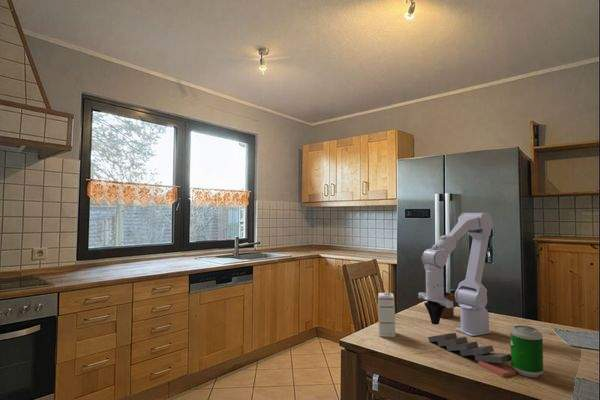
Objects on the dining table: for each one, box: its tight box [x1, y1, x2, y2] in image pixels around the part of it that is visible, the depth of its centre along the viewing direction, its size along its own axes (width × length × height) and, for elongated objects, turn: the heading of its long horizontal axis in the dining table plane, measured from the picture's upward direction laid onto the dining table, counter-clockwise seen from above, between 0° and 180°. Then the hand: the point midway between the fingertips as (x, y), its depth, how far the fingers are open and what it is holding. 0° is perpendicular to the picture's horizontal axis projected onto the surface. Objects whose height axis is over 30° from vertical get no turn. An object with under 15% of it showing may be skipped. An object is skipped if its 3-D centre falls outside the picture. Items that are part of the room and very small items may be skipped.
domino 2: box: [436, 336, 469, 347], centre depth 115 cm, size 5×2×8 cm
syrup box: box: [377, 292, 396, 338], centre depth 129 cm, size 6×6×14 cm
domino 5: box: [474, 352, 511, 364], centre depth 104 cm, size 5×2×8 cm
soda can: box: [509, 324, 544, 378], centre depth 99 cm, size 8×8×12 cm
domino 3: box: [445, 340, 479, 352], centre depth 112 cm, size 5×2×8 cm
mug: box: [440, 291, 460, 319], centre depth 150 cm, size 12×8×9 cm, turn 92°
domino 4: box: [459, 345, 495, 357], centre depth 108 cm, size 5×2×8 cm
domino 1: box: [427, 332, 458, 343], centre depth 119 cm, size 5×2×8 cm
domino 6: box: [477, 361, 517, 378], centre depth 101 cm, size 5×2×8 cm
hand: (435, 323), depth 122 cm, fingers closed
